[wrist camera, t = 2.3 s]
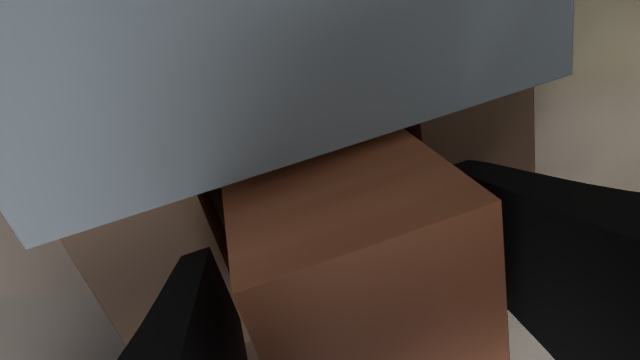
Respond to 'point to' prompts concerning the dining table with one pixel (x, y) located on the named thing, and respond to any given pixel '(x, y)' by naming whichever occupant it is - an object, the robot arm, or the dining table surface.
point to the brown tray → (209, 224)
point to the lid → (235, 90)
